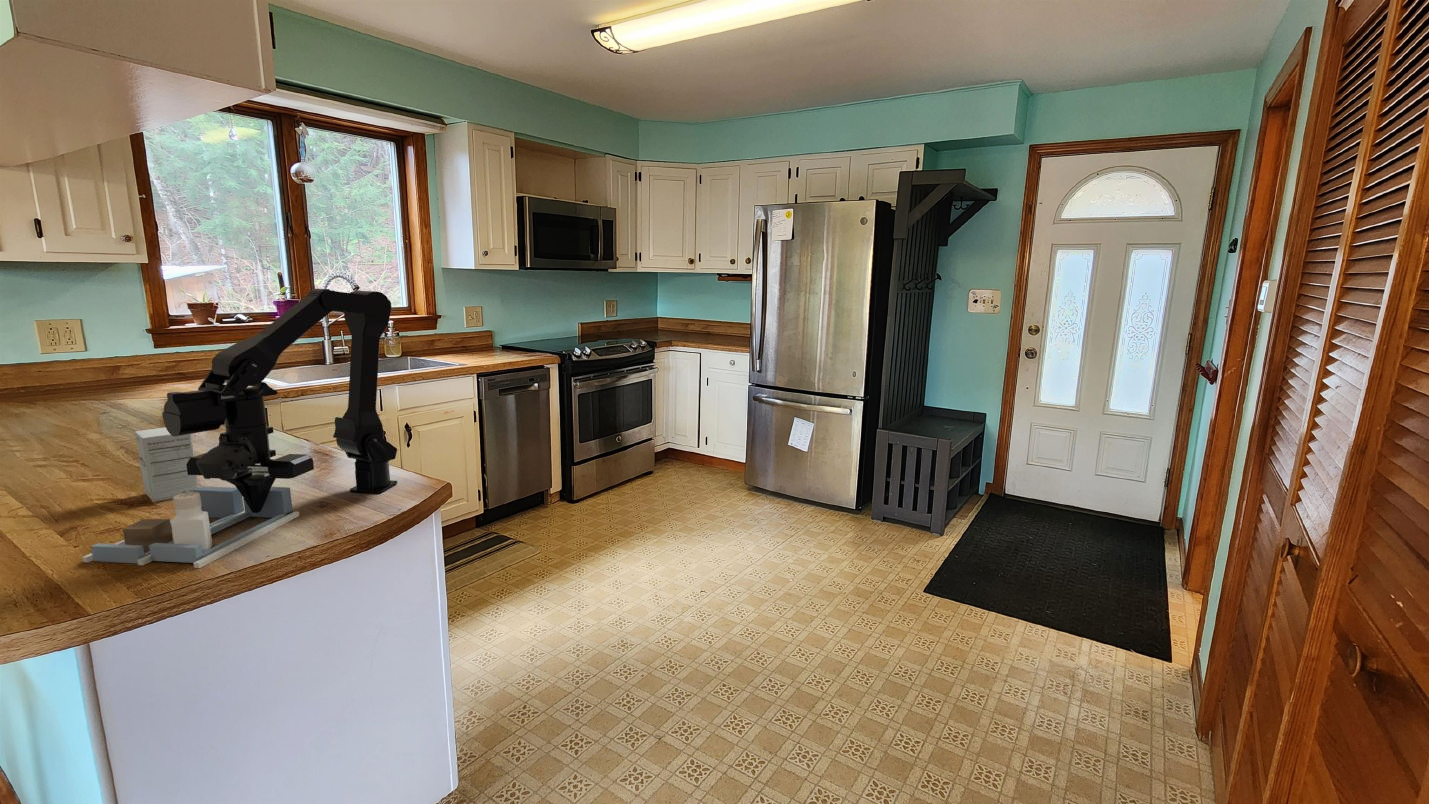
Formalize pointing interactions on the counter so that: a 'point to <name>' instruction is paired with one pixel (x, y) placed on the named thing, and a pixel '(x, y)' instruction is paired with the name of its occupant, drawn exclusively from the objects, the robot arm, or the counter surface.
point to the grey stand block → (273, 508)
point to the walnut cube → (148, 533)
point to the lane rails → (224, 550)
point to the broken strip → (213, 501)
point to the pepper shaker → (191, 521)
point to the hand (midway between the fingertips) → (256, 512)
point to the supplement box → (165, 463)
